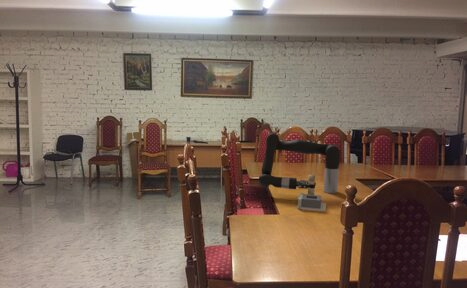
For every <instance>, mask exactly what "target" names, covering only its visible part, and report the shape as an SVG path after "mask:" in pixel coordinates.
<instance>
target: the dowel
mask: <svg viewBox="0 0 467 288" xmlns="http://www.w3.org/2000/svg"><path fill="white" fill-rule="evenodd" d="M307 181H308V184H313V185H315V183H316V182H315V181H316V174H308V180H307ZM307 194H309V195H315V188H308V189H307Z"/></svg>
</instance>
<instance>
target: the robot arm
mask: <svg viewBox="0 0 467 288" xmlns="http://www.w3.org/2000/svg"><path fill="white" fill-rule="evenodd" d="M265 146H266V147H265V153H264V157H263V161H262V165H261V175H259V176H258V182H259V186H260V187H261V188H262V189H267V188H269V187H270V186H272V187H274V188H279V189H286V190H297V189H306V190H308V188H314V189H316V185H317V183H316V182H315V185H313V184H308V180H306V179H300V180H298V178H297V177H288V176H287V177H286V176H284V177H283V176H282V177H281V176H274V175H272V172H273V167H274V162H275V161H274V160H275V153H276V151H286V152H292V153H298V154H302V155H303V154H304V155H305V154H306V155H322V156H325V164H324V178H323V181H324V182H323V192H324V193H326V194H334V195H335V194H337V193H338V188H339V170H340V167H339V166H340V163H341V162H340V161H341V151H340V147H338V145H335V144H327V143H318V142H315V141H310V140H309V141H308V140H304V139H293V140H287V141H286V140H285V141H284V140H280V137H279V135H278V134H277V133H276V132H275V133H274V132H271V133H269V134H268V135H267V136H266V138H265Z"/></svg>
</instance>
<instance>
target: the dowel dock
mask: <svg viewBox="0 0 467 288" xmlns="http://www.w3.org/2000/svg"><path fill="white" fill-rule="evenodd" d="M326 208H327V202H326V203H325V202H322V195H318V194H314V195H309V194H308V193H303V192H300V193H299V195H298V197H297V210H304V211H315V212H325V213H326V212H327V211H326V210H327V209H326Z"/></svg>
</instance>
